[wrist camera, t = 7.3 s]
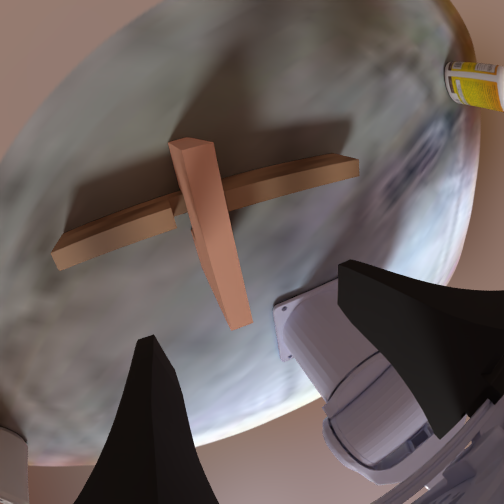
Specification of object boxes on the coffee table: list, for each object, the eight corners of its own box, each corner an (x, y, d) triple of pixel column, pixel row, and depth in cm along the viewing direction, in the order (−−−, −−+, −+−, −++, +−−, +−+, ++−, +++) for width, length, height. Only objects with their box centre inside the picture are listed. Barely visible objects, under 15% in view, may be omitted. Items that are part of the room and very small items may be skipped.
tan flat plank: (167, 142, 15) (181, 150, 9) (186, 137, 15) (213, 142, 9) (201, 267, 19) (231, 331, 14) (217, 261, 20) (252, 322, 14)
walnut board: (332, 153, 19) (358, 159, 17) (333, 167, 20) (359, 175, 17) (63, 233, 15) (50, 253, 12) (70, 249, 15) (59, 271, 13)
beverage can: (-14, 418, 16) (-20, 490, 6) (23, 432, 19) (23, 507, 9) (-2, 438, 18) (-4, 501, 8) (32, 449, 21) (34, 515, 11)
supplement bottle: (459, 109, 23) (527, 126, 14) (440, 90, 21) (518, 103, 12) (462, 74, 21) (527, 86, 12) (443, 52, 19) (516, 59, 10)
